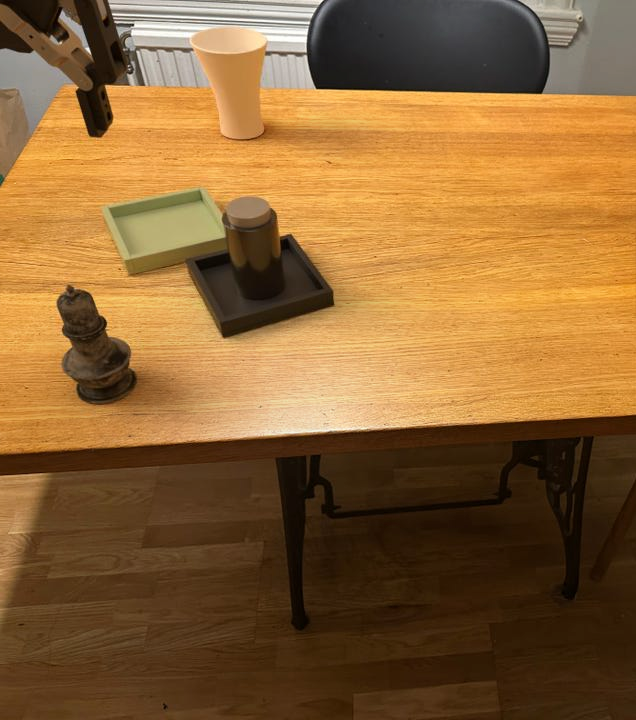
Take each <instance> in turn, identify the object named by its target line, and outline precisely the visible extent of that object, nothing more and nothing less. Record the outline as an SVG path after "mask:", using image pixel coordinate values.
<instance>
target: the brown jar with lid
mask: <svg viewBox="0 0 636 720" xmlns="http://www.w3.org/2000/svg"><path fill="white" fill-rule="evenodd" d="M222 214H223V216H222V224H223V229H224V235H225V240H226V245H227V251H228V256H229V261H230V267H231V272H232V277H233V283H234V288H235V291H236V292H237V293H238V294H239V295H240V296H242V297H244V298H246V299H251V300H264V299H269V298H272V297H274V296H276V295H278V294H279V293H281V292H282V290H283V289H284V287H285V276H284V268H283V260H282V252H281V244H280V236H281V235H280V228H279V221H278V214H277V212H276V210H274V208H272V207H271V205H270V203H269V202H268V200H266V199H264V198H262V197H259V196H254V195H250V196H249V195H247V196H240V197H236V198H233V199H232V200H230V201H228V203H227V204H226V206H225V211H224V212H223V213H222Z"/></svg>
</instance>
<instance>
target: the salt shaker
mask: <svg viewBox="0 0 636 720" xmlns="http://www.w3.org/2000/svg"><path fill="white" fill-rule="evenodd" d="M55 305H56V308H57V311H58V313H59V316H60V317H61V320H62V323H63V325H62V327H61V332H62V336H64V337H65V338H66V339H68V340H69V343H70V345H71V347H70V348H69V349H68V350H67V351H66V352H65V353H64V354H63V357H62V358H61V365H60V366H61V368H62V371H63V372H64V374H65V375H66V376H67V377H70V378H71V379H72V381H73V382H76V383H77V384H76V389H75V391H76V395H77V396H78V397H79V399H80V400H82V401H83V402H85V403H87V404H92V405H105V404H111V403H114V402H117V401H119V400H122V399H123V398H125V397H126V396H128V395H129V394H130V393H132V391H133V390H134V389H135V387H136V385H137V379H138V377H137V375H136V373H135V371H134V370H133V369H132V368H130V362H131V361H130V360H131V357H132V349H131V347H130V345H129V344H128V343H127V342H126V341H124V340H123V339H120V338H118V337H113V336H109V335H108V332H107V329H106V328H107V326H108V322H107V319H106V317H105V316H103V315H101V314H100V313H99V311H98V308H97V305H96V302H95V299H94V296H93V295H92V293H90V292H89V291H87V290H85V289H81V288H75V287H74V286H73V285H70V284H67V285H66V288H65V291H64V292H62V293H61V294H60V295H59V296H58V298H57V299H56V304H55Z"/></svg>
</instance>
